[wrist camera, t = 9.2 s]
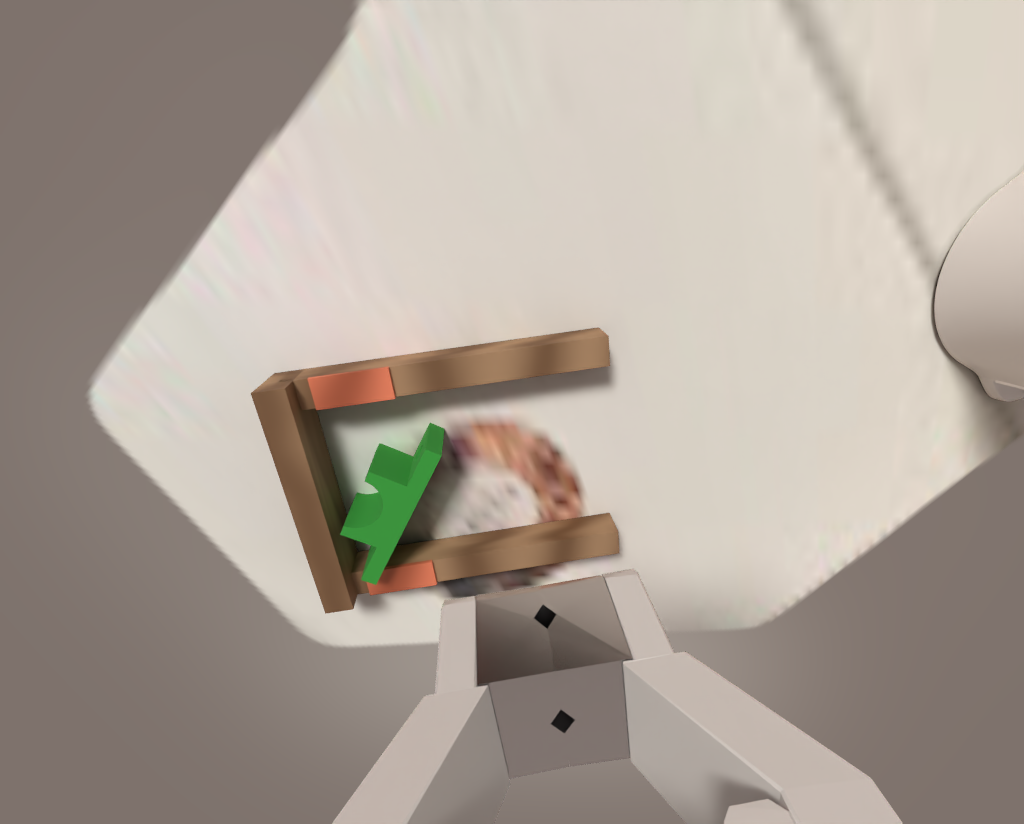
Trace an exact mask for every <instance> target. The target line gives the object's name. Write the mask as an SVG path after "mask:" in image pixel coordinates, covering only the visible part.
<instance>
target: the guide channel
mask: <svg viewBox="0 0 1024 824" xmlns="http://www.w3.org/2000/svg"><path fill="white" fill-rule="evenodd" d="M606 366H610V358H609V338H608V335H607V334H606V333H604V332H603V331H602V330H601V329H600V328H593V329H585V330H578V331H571V332H564V333H557V334H550V335H543V336H536V337H529V338H522V339H515V340H508V341H501V342H493V343H486V344H479V345H472V346H465V347H458V348H451V349H444V350H437V351H430V352H423V353H416V354H408V355H401V356H394V357H387V358H380V359H373V360H366V361H359V362H352V363H345V364H338V365H331V366H323V367H316V368H309V369H302V370H295V371H288V372H281V373H274V374H273V375H272V376H271V377H270V378H268V379H267V380H266V381H265V382H264V383H263V384H261V385H260V386H259V387H258V388H257V389H255V390H254V391H253V392H252V393H251V395H252V398H253V401H254V404H255V407H256V410H257V413H258V416H259V419H260V422H261V425H262V428H263V431H264V434H265V437H266V440H267V443H268V445H269V448H270V451H271V454H272V457H273V460H274V463H275V466H276V469H277V472H278V475H279V478H280V481H281V484H282V487H283V490H284V493H285V496H286V498H287V501H288V504H289V507H290V510H291V513H292V516H293V519H294V522H295V525H296V528H297V531H298V534H299V537H300V540H301V543H302V546H303V549H304V552H305V554H306V557H307V560H308V563H309V566H310V569H311V572H312V575H313V578H314V581H315V584H316V587H317V590H318V593H319V596H320V599H321V602H322V605H323V607H324V610H325V613H332V612H338V611H344V610H351V609H353V608H354V605H355V601H356V598H357V594H363V593H370V595H376V594H382V593H389V592H395V591H401V590H408V589H414V588H420V587H427V586H433V585H437V582H439V581H446V580H452V579H458V578H465V577H471V576H477V575H484V574H490V573H497V572H503V571H509V570H516V569H522V568H528V567H535V566H541V565H547V564H554V563H560V562H566V561H573V560H579V559H585V558H592V557H598V556H604V555H611V554H617V553H619V538H618V530H617V528H616V526H615V524H614V522H613V520H612V518H611V515H610V513H606V514H599V515H593V516H586V517H580V518H573V519H567V520H560V521H554V522H547V523H541V524H535V525H528V526H522V527H515V528H509V529H502V530H496V531H489V532H483V533H476V534H470V535H463V536H457V537H450V538H444V539H438V540H431V541H425V542H418V543H412V544H405V545H399V546H396V547H395V549H394V551H393V553H392V555H391V557H390V559H389V561H388V562H387V564H386V566H385V568H384V570H383V572H382V574H381V576H380V578H379V580H378V582H377V584H376V585H375V584H372V583H369V582H366V581H362V580H361V578H362V574H363V571H364V567H365V564H366V560H367V557H368V553H369V550H366V551H360V552H358V551H357V548H356V544H355V541H354V539H351V538H348V537H345V536H342V535H340V533H341V531H342V528H343V526H344V523H345V520H346V518H347V513H346V510H345V507H344V503H343V500H342V496H341V493H340V489H339V486H338V482H337V479H336V476H335V472H334V469H333V465H332V462H331V458H330V455H329V451H328V448H327V445H326V441H325V438H324V434H323V431H322V427H321V424H320V420H319V417H318V414H317V410H322V409H329V408H336V407H343V406H350V405H357V404H364V403H371V402H378V401H385V400H392V399H395V398H396V397H398V396H405V395H412V394H419V393H426V392H432V391H439V390H446V389H453V388H460V387H467V386H474V385H481V384H488V383H495V382H502V381H509V380H516V379H523V378H530V377H537V376H543V375H550V374H557V373H564V372H571V371H578V370H585V369H592V368H599V367H606Z"/></svg>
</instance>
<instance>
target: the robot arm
mask: <svg viewBox="0 0 1024 824" xmlns="http://www.w3.org/2000/svg"><path fill="white" fill-rule="evenodd" d="M934 312H935V323H936V327H937V331H938V334H939V337H940V339H941V342H942V344H943V345H944V347H945V348H946V350H947V351H948V352H949V354H950V355H951V356H952V357H953V358H954V359H955V360H957V361H958V362H959V363H961V364H963V365H964V366H966V367H968V368H969V369H971V370H972V371H974V372H975V373H976V374H977V375H978V376H979V379H980V381H981V383H982V385H983V388H984V389H985V391H986V393H987V394H988V395H989V396H990V397H991V398H993V399H997V400H1002V401H1006V402H1011V401H1016V400H1019V399H1022V398H1024V171H1023V172H1022V173H1020V174H1019V175H1018V176H1017V177H1016V178H1014V179H1013V180H1012V181H1010V182H1009V183H1008V184H1006V185H1005V186H1004V187H1002V188H1001V189H1000V190H999V191H997V192H996V193H995V194H994V195H993V196H991V197H990V198H989V199H988V200H987V201H986V202H985V203H984V204H983V205H982V206H981V207H980V208H979V209H978V210H977V212H976V213H975V214H974V215H973V216H972V217H971V219H970V220H969V221H968V222H967V224H966V225H965V226H964V228H963V229H962V231H961V232H960V234H959V235H958V237H957V238H956V240H955V242H954V243H953V245H952V247H951V249H950V251H949V253H948V255H947V257H946V260H945V262H944V264H943V267H942V270H941V273H940V276H939V279H938V284H937V288H936V294H935V305H934ZM626 758H631V762H632V763H633V764H634V765H635V767H636V768H637V769H638V770H639V771H640V772H641V773H642V774H643V775H644V777H645V778H646V779H647V780H648V781H649V782H650V783H651V785H652V786H653V787H654V788H655V789H656V790H657V791H658V793H659V794H660V795H661V796H662V797H663V798H664V799H665V800H666V802H667V803H668V804H669V805H670V806H671V807H672V808H673V809H674V811H675V812H676V813H677V814H678V815H679V816H680V817H681V819H683V821H684V822H685V823H686V824H903V823H902V822H901V820H900V819H899V817H898V816H897V814H896V813H895V812H894V810H893V809H892V807H891V806H890V805H889V803H888V802H887V800H886V799H885V797H884V796H883V795H882V793H881V792H880V790H879V789H878V787H877V786H876V785H875V783H874V782H873V780H872V779H871V778H870V777H869V776H867V775H866V774H864V773H863V772H861V771H860V770H858V769H857V768H855V767H854V766H853V765H851V764H850V763H848V762H847V761H845V760H844V759H842V758H841V757H839V756H838V755H836V754H835V753H834V752H832V751H831V750H829V749H828V748H826V747H825V746H823V745H822V744H820V743H819V742H817V741H816V740H815V739H813V738H812V737H810V736H809V735H807V734H806V733H804V732H803V731H801V730H800V729H798V728H797V727H795V726H794V725H792V724H791V723H790V722H788V721H787V720H785V719H784V718H782V717H781V716H779V715H778V714H776V713H775V712H774V711H772V710H770V709H769V708H768V707H766V706H765V705H763V704H762V703H760V702H759V701H757V700H756V699H755V698H753V697H752V696H750V695H748V694H747V693H746V692H744V691H743V690H741V689H740V688H738V687H737V686H735V685H734V684H732V683H731V682H730V681H728V680H727V679H725V678H724V677H722V676H721V675H719V674H718V673H716V672H715V671H714V670H712V669H710V668H709V667H708V666H706V665H705V664H703V663H702V662H700V661H699V660H697V659H696V658H695V657H693V656H691V655H690V654H689V653H687V652H686V651H685V652H678V653H675V652H674V650H673V648H672V646H671V643H670V641H669V639H668V637H667V635H666V633H665V630H664V628H663V626H662V624H661V622H660V620H659V617H658V615H657V613H656V611H655V609H654V607H653V605H652V602H651V600H650V598H649V596H648V594H647V592H646V589H645V587H644V585H643V583H642V581H641V579H640V577H639V574H638V572H636V571H635V570H634V569H629V570H623V571H618V572H613V573H607V574H602V576H600V575H599V576H594V577H588V578H582V579H577V580H571V581H565V582H560V583H554V584H548V585H543V586H537V587H530V588H523V589H516V590H509V591H502V592H495V593H488V594H481V595H477V596H472V597H465V598H458V599H451V600H445V601H444V603H443V606H442V609H441V622H440V635H439V648H438V661H437V675H436V687H435V694H432V695H427V696H424V697H423V699H422V700H421V702H420V703H419V704H418V706H417V707H416V708H415V710H414V711H413V712H412V714H411V715H410V717H409V718H408V719H407V721H406V722H405V724H404V725H403V726H402V728H401V729H400V731H399V732H398V733H397V735H396V736H395V738H394V739H393V740H392V742H391V743H390V745H389V746H388V747H387V748H386V750H385V751H384V753H383V754H382V755H381V757H380V758H379V759H378V761H377V762H376V764H375V765H374V766H373V768H372V769H371V770H370V772H369V773H368V775H367V776H366V777H365V779H364V780H363V781H362V783H361V784H360V786H359V787H358V788H357V790H356V791H355V793H354V794H353V795H352V797H351V798H350V799H349V801H348V802H347V804H346V805H345V806H344V808H343V809H342V810H341V812H340V813H339V815H338V816H337V817H336V819H335V820H334V822H333V823H332V824H494V823H495V820H496V818H497V815H498V813H499V810H500V808H501V805H502V803H503V800H504V798H505V795H506V793H507V790H508V788H509V785H510V780H509V779H511V778H516V777H521V776H526V775H530V774H535V773H540V772H545V771H550V770H555V769H559V768H564V767H569V764H570V766H576V765H583V764H591V763H597V762H605V761H612V760H619V759H626Z"/></svg>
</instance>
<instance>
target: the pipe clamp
mask: <svg viewBox="0 0 1024 824" xmlns="http://www.w3.org/2000/svg"><path fill="white" fill-rule="evenodd" d="M443 438H444V428H441V427H439V426H436V425H434V424H432V423H430V424H429V426H428V428H427V430H426V432H425V434H424V436H423V438H422V440H421V442H420V444H419V446H418V448H417V451H416V453H415V455H414V457H413V456H410V455H408V454H405V453H403V452H400V451H398V450H395V449H393V448H390V447H388V446H385V445H383V444H379V446H378V448H377V450H376V452H375V455H374V458H373V460H372V463H371V466H370V468H369V471H368V474H367V476H366V479H365V482H367V483H369V484H371V485H372V486H374V487H375V488H376V489H377V490H378V493H375V494H360V493H357V494H356V496H355V498H354V500H353V503H352V505H351V508H350V510H349V513H348V515H347V518H346V520H345V523H344V526H343V528H342V531H341V533H340V535H342V536H345V537H348V538H351V539H354V540H357V541H360V542H362V543H365V544H368V545H371V546H370V550H369V553H368V557H367V560H366V564H365V567H364V571H363V574H362V578H361V580H362V581H366V582H369V583H372V584H375V585H376V584H377V582H378V580H379V578H380V576H381V574H382V572H383V570H384V568H385V566H386V564H387V562H388V561H389V559H390V557H391V555H392V553H393V551H394V549H395V547H396V545H397V543H398V541H399V539H400V537H401V535H402V533H403V531H404V529H405V527H406V525H407V523H408V521H409V519H410V517H411V515H412V513H413V511H414V509H415V507H416V505H417V503H418V501H419V499H420V498H421V496H422V494H423V492H424V490H425V488H426V486H427V484H428V482H429V480H430V478H431V476H432V474H433V472H434V470H435V468H436V466H437V464H438V462H439V460H440V458H441V456H442V448H443Z"/></svg>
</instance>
